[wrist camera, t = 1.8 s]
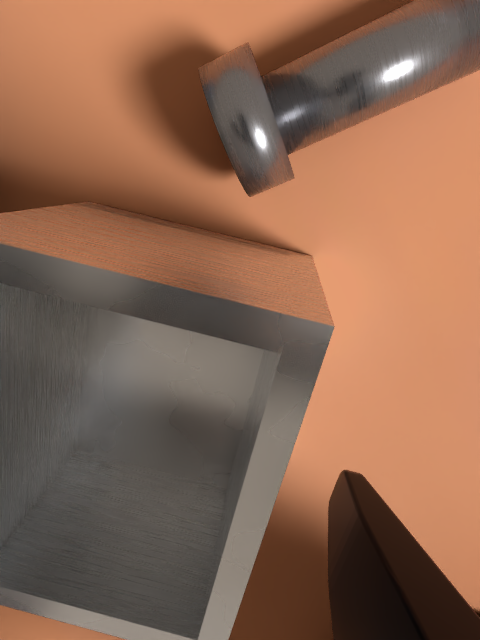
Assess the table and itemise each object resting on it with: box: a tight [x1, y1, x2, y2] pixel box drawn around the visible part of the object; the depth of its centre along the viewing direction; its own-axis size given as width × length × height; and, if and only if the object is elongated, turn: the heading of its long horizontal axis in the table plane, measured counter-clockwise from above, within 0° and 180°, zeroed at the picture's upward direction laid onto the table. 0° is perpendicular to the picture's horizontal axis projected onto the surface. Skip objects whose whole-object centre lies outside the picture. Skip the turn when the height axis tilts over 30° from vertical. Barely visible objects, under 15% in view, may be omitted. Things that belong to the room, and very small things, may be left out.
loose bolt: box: [199, 0, 480, 197], centre depth 7 cm, size 5×3×3 cm, turn 112°
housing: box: [0, 201, 334, 640], centre depth 9 cm, size 6×8×5 cm
